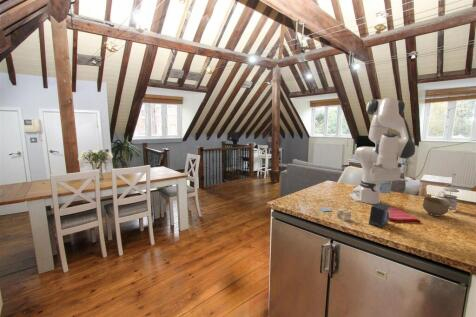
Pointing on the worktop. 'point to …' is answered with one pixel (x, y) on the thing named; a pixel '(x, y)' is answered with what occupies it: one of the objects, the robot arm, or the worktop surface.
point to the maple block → (343, 214)
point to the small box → (379, 215)
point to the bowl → (435, 205)
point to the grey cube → (384, 188)
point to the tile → (325, 209)
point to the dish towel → (400, 215)
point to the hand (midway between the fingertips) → (383, 189)
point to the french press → (450, 196)
